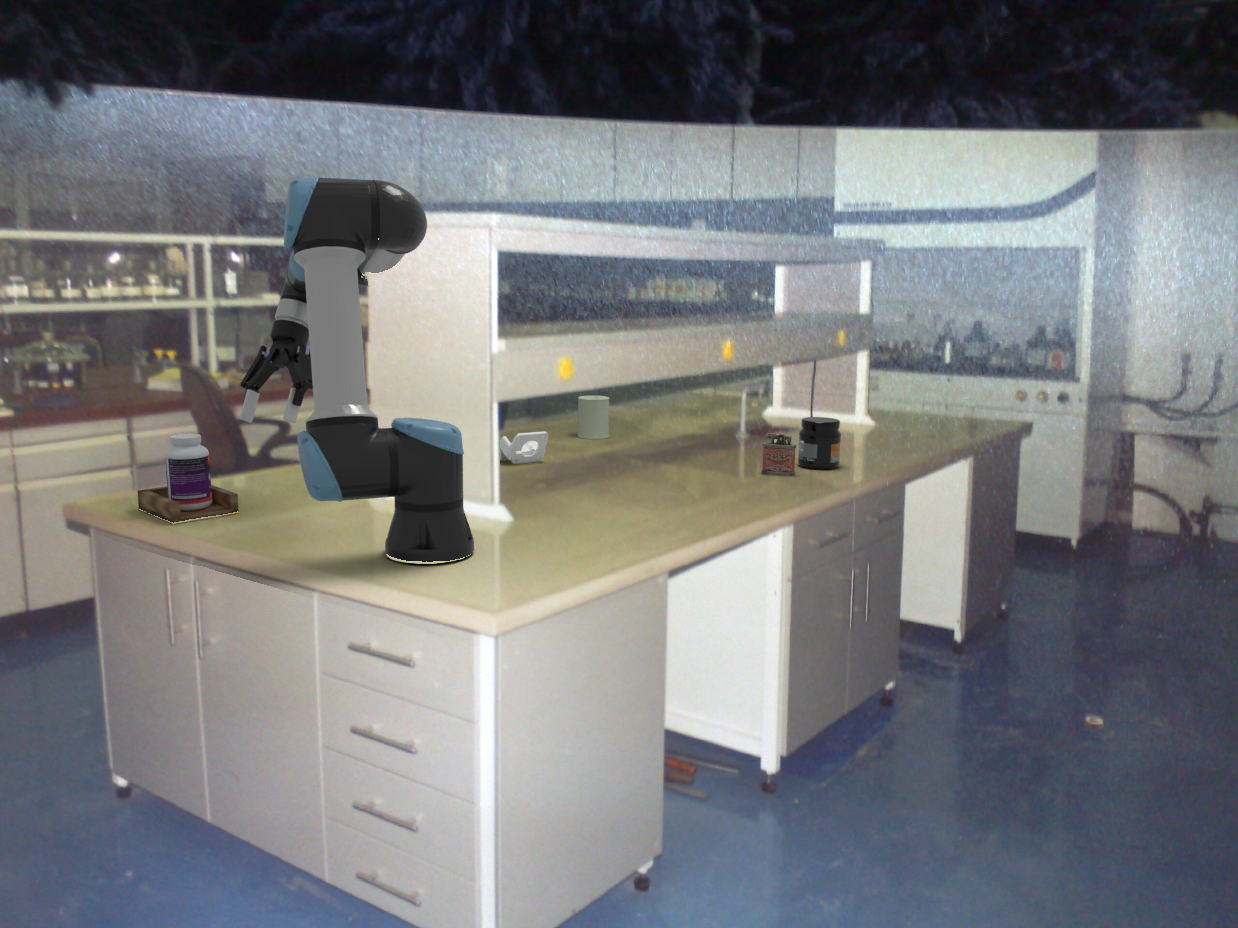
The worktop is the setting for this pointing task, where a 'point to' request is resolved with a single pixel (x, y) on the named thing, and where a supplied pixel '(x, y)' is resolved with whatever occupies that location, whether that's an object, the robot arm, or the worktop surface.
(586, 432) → the can
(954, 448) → the worktop surface
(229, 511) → the slot tray
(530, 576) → the worktop surface
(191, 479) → the pill bottle
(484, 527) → the worktop surface
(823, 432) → the supplement container
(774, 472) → the lighter
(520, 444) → the mounting bracket
